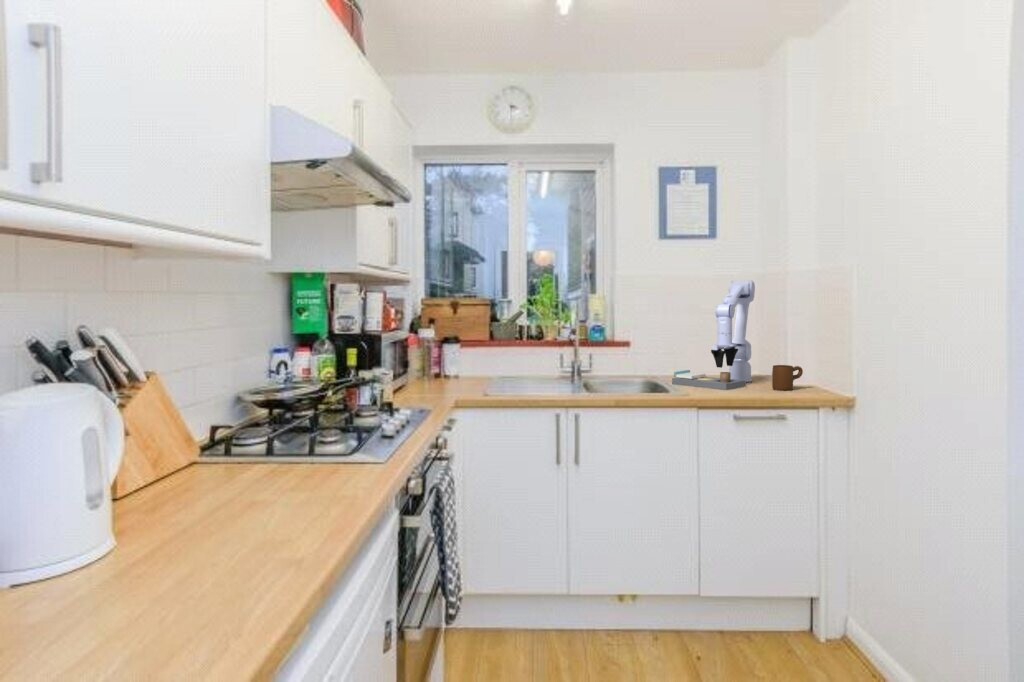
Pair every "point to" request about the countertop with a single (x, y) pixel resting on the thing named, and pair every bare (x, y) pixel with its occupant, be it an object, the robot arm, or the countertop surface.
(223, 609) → the countertop surface
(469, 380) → the countertop surface
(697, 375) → the lid
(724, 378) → the peg
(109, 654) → the countertop surface
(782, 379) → the mug
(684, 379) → the housing
